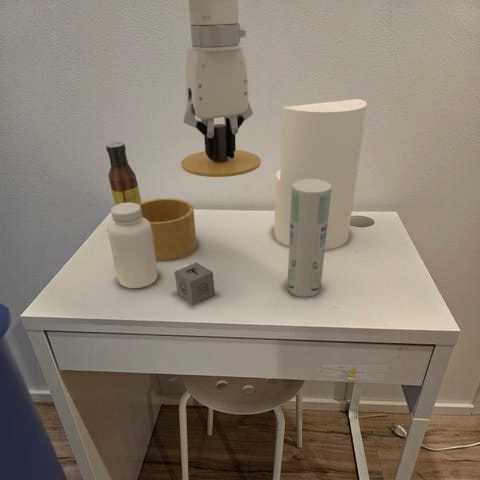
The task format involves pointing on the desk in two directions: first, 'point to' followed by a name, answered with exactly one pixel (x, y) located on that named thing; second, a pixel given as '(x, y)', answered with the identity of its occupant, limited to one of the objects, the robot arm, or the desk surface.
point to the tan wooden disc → (221, 159)
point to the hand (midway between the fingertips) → (220, 156)
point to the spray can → (307, 235)
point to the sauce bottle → (122, 176)
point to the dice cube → (194, 283)
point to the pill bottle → (132, 246)
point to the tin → (170, 227)
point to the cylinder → (320, 161)
